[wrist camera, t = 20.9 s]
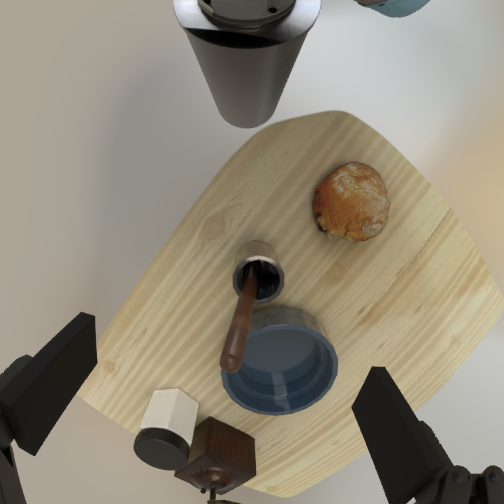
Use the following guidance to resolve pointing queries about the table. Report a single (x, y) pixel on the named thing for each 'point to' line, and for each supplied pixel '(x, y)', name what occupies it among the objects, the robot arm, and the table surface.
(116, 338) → the table surface
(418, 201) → the table surface
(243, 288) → the stick
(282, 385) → the bowl
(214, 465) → the manual coffee grinder
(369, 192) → the bread roll
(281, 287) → the holder
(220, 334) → the table surface
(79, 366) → the robot arm
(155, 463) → the jar
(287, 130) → the table surface
